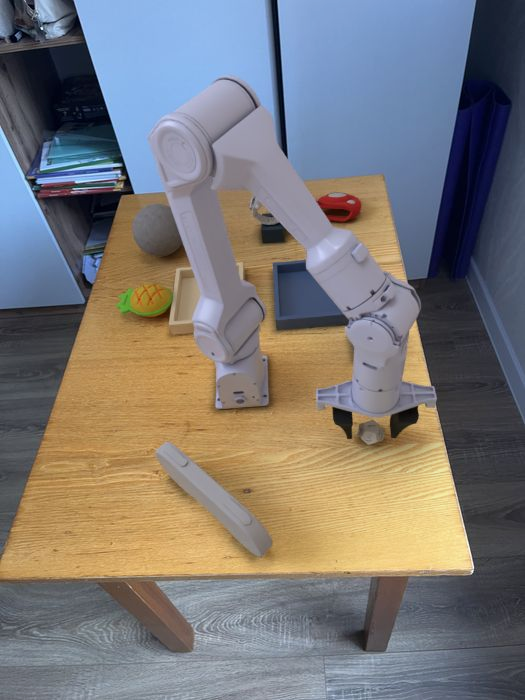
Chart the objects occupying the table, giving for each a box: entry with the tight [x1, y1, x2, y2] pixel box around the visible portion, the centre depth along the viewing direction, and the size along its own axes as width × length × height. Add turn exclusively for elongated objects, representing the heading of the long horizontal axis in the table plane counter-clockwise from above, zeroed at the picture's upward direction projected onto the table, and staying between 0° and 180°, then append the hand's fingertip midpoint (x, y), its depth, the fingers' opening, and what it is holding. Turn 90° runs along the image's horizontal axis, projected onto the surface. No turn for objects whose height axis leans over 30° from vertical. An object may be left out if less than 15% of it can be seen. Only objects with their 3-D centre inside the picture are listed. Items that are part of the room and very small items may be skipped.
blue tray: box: [272, 259, 349, 331], centre depth 89 cm, size 15×13×2 cm
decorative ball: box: [131, 203, 183, 257], centre depth 99 cm, size 10×10×10 cm
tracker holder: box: [314, 191, 362, 223], centre depth 104 cm, size 12×4×10 cm
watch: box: [249, 194, 286, 244], centre depth 99 cm, size 6×8×11 cm
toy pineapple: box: [115, 283, 173, 318], centre depth 90 cm, size 7×10×5 cm
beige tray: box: [168, 261, 246, 336], centre depth 91 cm, size 15×13×2 cm
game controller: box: [154, 441, 274, 558], centre depth 64 cm, size 20×2×8 cm, turn 47°
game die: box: [356, 419, 386, 446], centre depth 70 cm, size 4×4×3 cm
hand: (370, 432), depth 70 cm, fingers open, 5 cm apart
